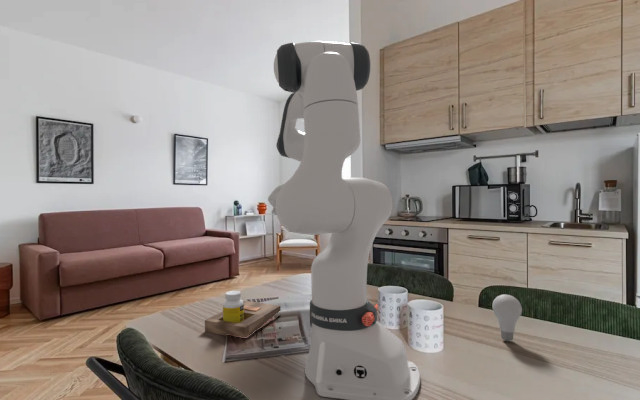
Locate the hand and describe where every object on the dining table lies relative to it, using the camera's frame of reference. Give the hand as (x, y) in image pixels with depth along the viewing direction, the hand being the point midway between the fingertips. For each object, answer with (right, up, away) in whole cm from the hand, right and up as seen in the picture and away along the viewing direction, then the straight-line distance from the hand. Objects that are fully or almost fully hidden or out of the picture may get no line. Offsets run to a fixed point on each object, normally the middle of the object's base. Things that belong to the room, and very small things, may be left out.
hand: (285, 214), depth 108 cm
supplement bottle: (-12, -30, -18) cm, 37 cm away
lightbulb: (+56, -29, -29) cm, 69 cm away
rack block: (-10, -30, -14) cm, 35 cm away
